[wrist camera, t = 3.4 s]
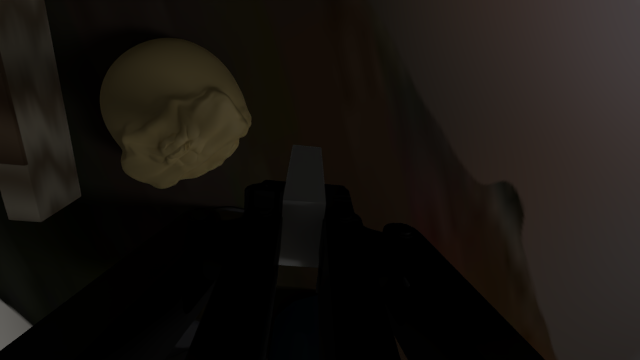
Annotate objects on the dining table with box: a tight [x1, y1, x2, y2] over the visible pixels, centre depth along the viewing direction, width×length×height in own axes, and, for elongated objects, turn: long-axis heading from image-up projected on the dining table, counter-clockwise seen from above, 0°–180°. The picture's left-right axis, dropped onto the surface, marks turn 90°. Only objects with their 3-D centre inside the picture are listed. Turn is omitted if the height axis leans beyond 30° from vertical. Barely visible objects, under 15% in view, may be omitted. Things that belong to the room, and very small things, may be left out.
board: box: [0, 0, 81, 222], centre depth 30 cm, size 24×3×6 cm, turn 174°
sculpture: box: [100, 38, 251, 189], centre depth 29 cm, size 11×12×11 cm
